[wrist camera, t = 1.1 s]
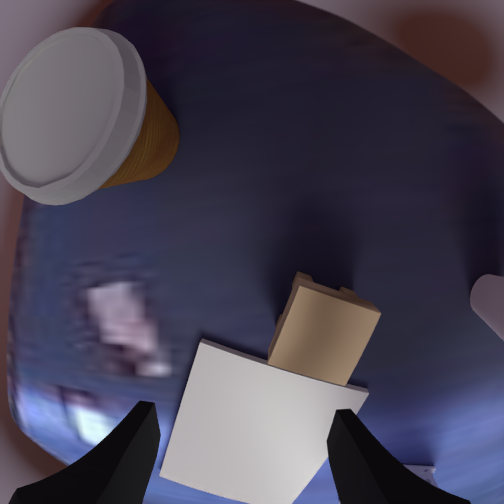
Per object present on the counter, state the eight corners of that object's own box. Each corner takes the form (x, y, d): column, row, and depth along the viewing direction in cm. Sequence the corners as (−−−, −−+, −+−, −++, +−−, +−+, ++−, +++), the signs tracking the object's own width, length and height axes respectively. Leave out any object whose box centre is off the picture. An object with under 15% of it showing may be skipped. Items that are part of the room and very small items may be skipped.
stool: (359, 288, 24) (381, 313, 18) (332, 348, 25) (344, 386, 19) (294, 265, 24) (299, 285, 18) (269, 328, 25) (267, 363, 19)
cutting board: (367, 388, 25) (369, 393, 25) (285, 505, 29) (285, 510, 28) (202, 338, 26) (200, 342, 25) (161, 471, 29) (159, 475, 28)
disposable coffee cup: (165, 64, 22) (94, -11, 10) (223, 156, 23) (172, 118, 11) (77, 131, 24) (-24, 106, 12) (124, 223, 25) (22, 244, 13)
